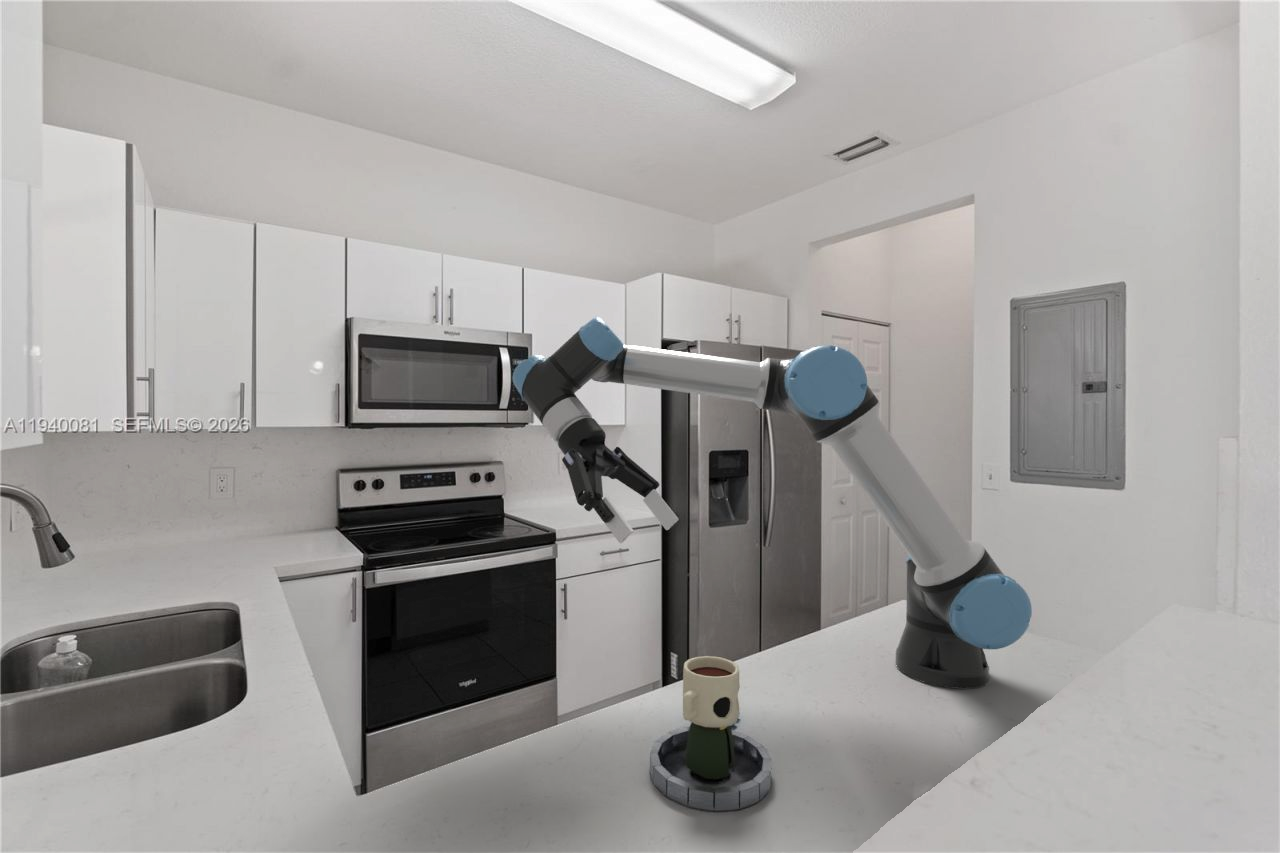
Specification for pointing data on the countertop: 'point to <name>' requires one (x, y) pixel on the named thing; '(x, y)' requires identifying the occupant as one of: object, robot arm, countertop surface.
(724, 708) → the character mug
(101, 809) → the countertop surface
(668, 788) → the grey round tray
